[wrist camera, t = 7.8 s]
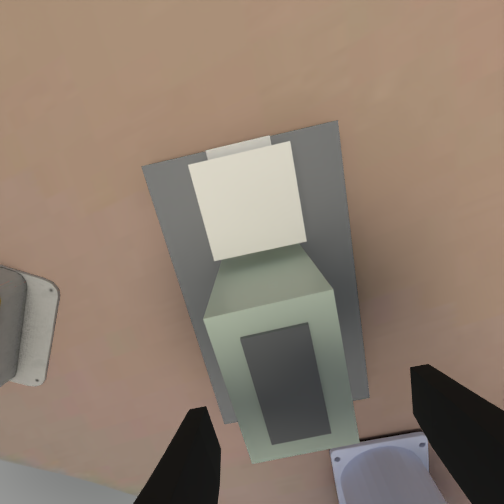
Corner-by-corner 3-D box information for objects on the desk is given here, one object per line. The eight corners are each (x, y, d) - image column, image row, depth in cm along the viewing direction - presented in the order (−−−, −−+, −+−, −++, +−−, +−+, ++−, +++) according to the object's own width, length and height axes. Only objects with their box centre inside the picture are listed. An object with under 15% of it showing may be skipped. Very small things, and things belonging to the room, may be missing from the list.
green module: (316, 339, 17) (361, 446, 10) (250, 353, 18) (252, 467, 11) (296, 239, 15) (334, 291, 9) (222, 257, 16) (202, 321, 9)
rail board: (362, 385, 20) (394, 443, 16) (225, 410, 21) (219, 473, 17) (331, 124, 15) (365, 103, 11) (149, 167, 16) (110, 163, 11)
